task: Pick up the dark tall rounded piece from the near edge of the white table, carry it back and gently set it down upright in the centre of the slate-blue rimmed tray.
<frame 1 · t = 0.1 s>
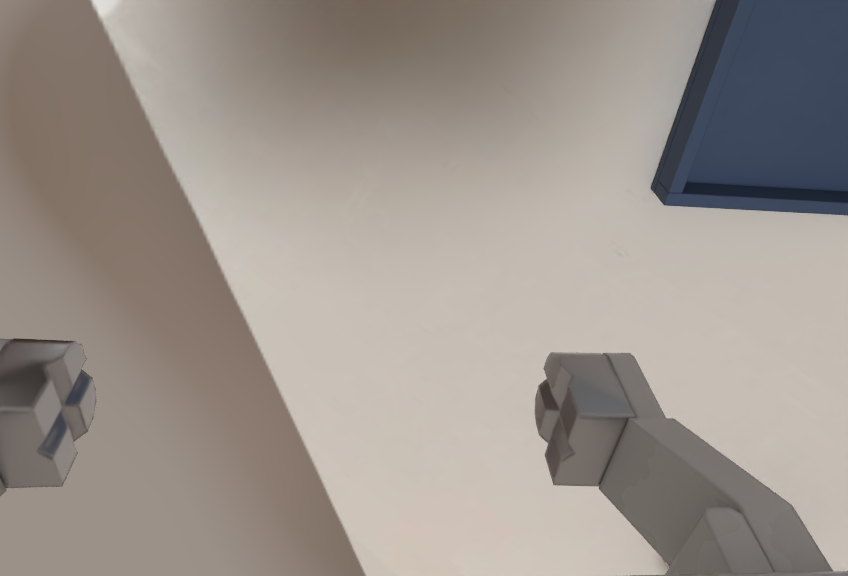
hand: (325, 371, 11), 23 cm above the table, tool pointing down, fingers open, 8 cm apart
tray: (826, 71, 33), on the table
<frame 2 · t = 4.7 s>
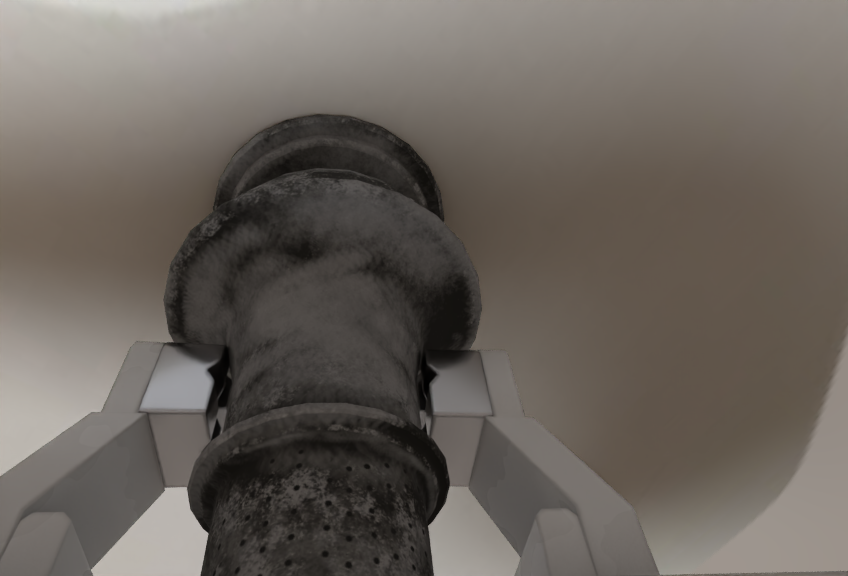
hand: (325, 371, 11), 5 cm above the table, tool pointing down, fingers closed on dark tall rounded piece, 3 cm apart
dark tall rounded piece: (331, 219, 15), on the table, touching gripper
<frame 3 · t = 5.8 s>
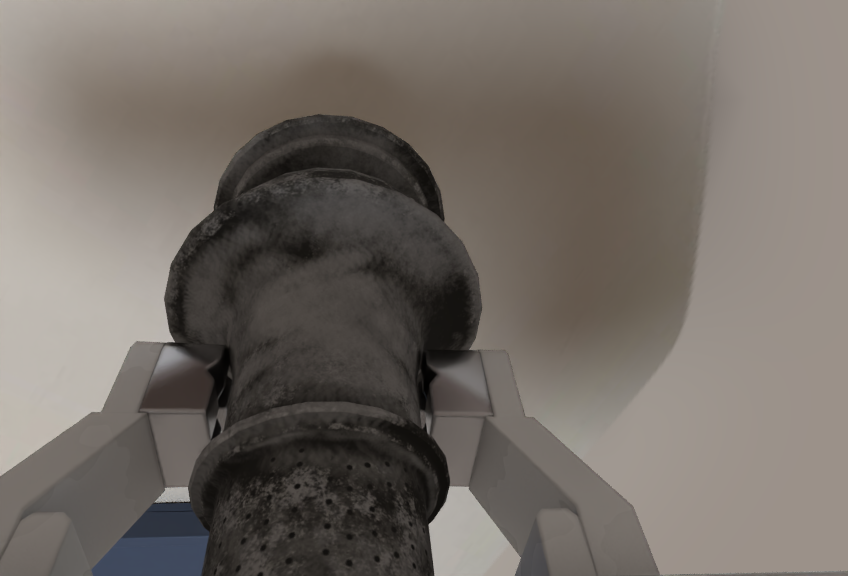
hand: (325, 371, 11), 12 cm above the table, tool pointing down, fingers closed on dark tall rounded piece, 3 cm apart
dark tall rounded piece: (332, 219, 15), point 8 cm above the table, touching gripper
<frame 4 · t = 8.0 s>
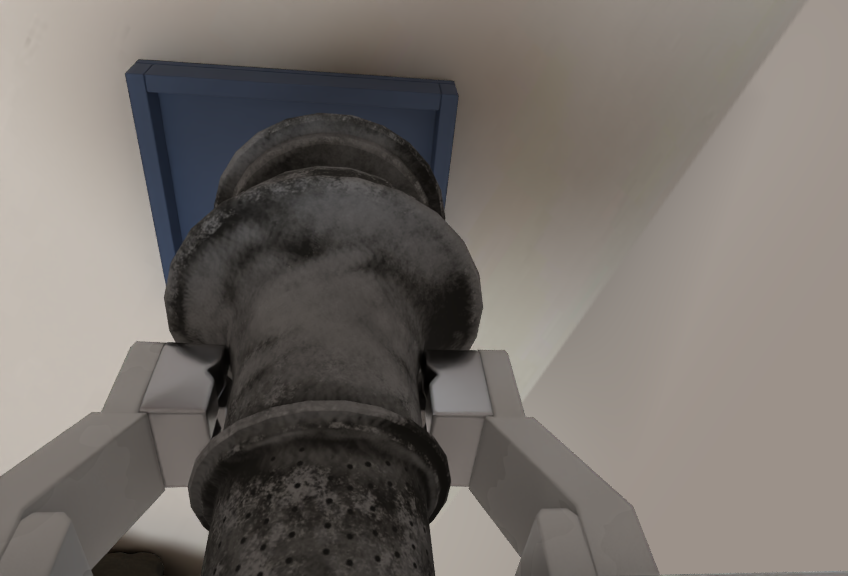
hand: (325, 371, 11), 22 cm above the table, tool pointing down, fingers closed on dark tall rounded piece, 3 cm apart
tray: (304, 206, 34), on the table
dark tall rounded piece: (332, 217, 15), point 17 cm above the table, touching gripper
when the fingers open (5 cm above the table, at t = 11.6 s): dark tall rounded piece stays where it is, resting on tray.
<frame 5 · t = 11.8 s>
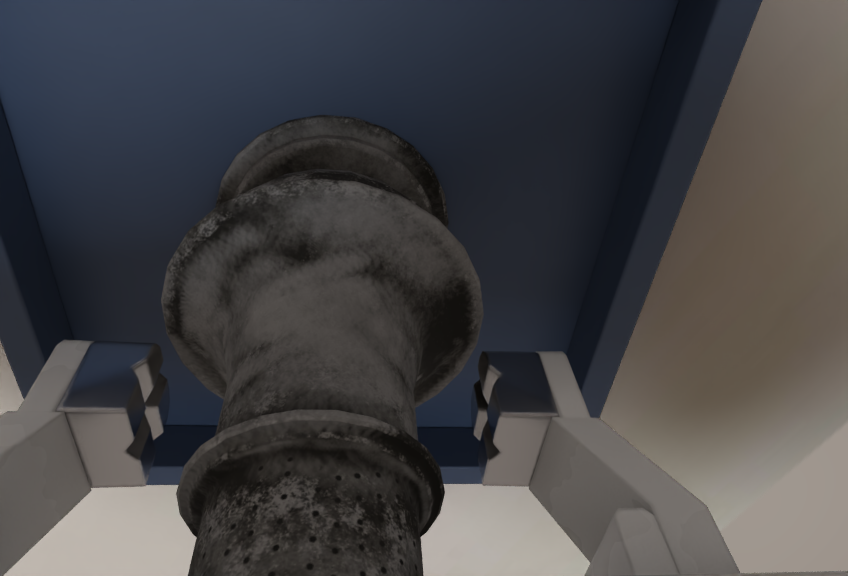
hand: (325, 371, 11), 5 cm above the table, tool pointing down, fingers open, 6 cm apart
tray: (335, 230, 15), on the table
dark tall rounded piece: (334, 220, 15), resting on tray
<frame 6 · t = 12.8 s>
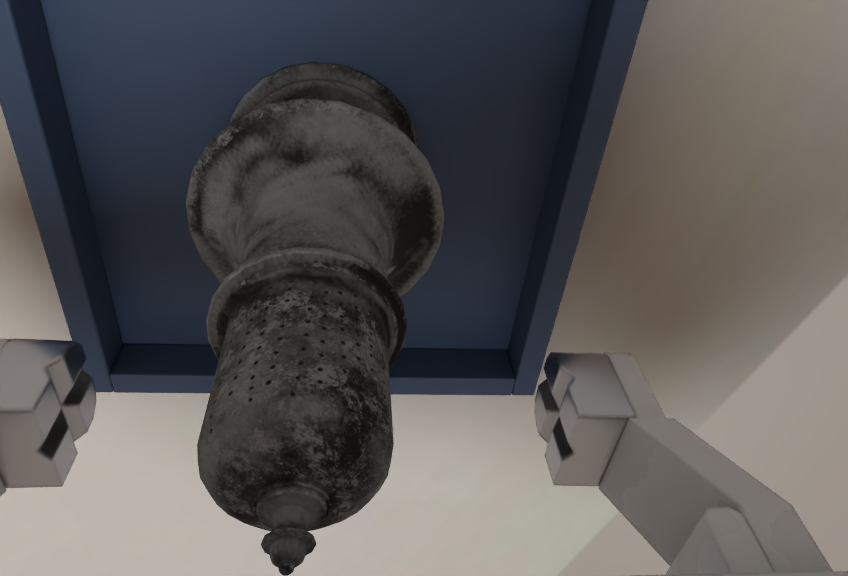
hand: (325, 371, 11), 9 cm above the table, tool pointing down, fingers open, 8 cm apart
tray: (325, 165, 18), on the table
dark tall rounded piece: (324, 155, 17), resting on tray
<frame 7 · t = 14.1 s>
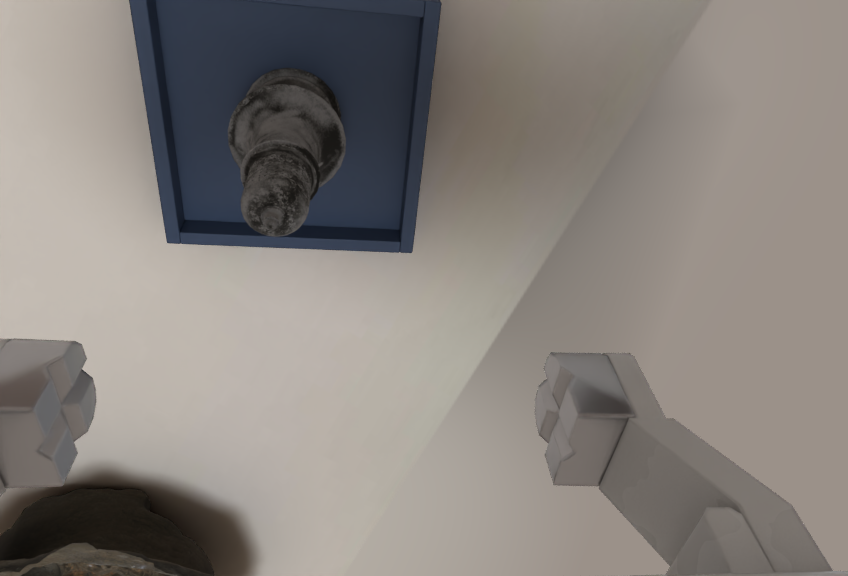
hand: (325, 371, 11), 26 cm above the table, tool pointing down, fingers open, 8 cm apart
tray: (293, 120, 35), on the table
dark tall rounded piece: (293, 114, 35), resting on tray
stone bowl: (123, 544, 58), on the table
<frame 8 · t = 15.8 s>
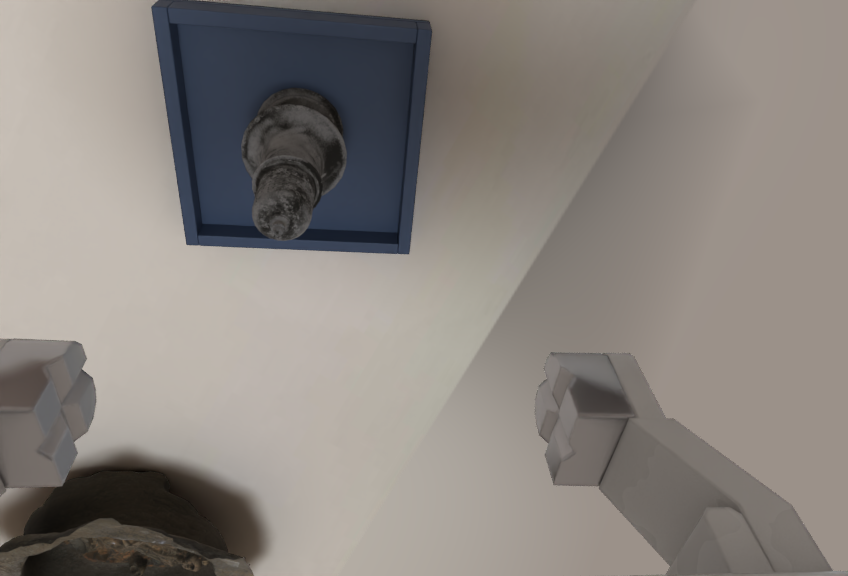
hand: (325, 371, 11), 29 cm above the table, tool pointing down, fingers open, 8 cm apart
tray: (300, 134, 39), on the table
dark tall rounded piece: (300, 129, 38), resting on tray
stone bowl: (144, 524, 62), on the table
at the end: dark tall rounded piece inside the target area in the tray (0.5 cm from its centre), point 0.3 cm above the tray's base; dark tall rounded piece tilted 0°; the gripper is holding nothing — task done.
